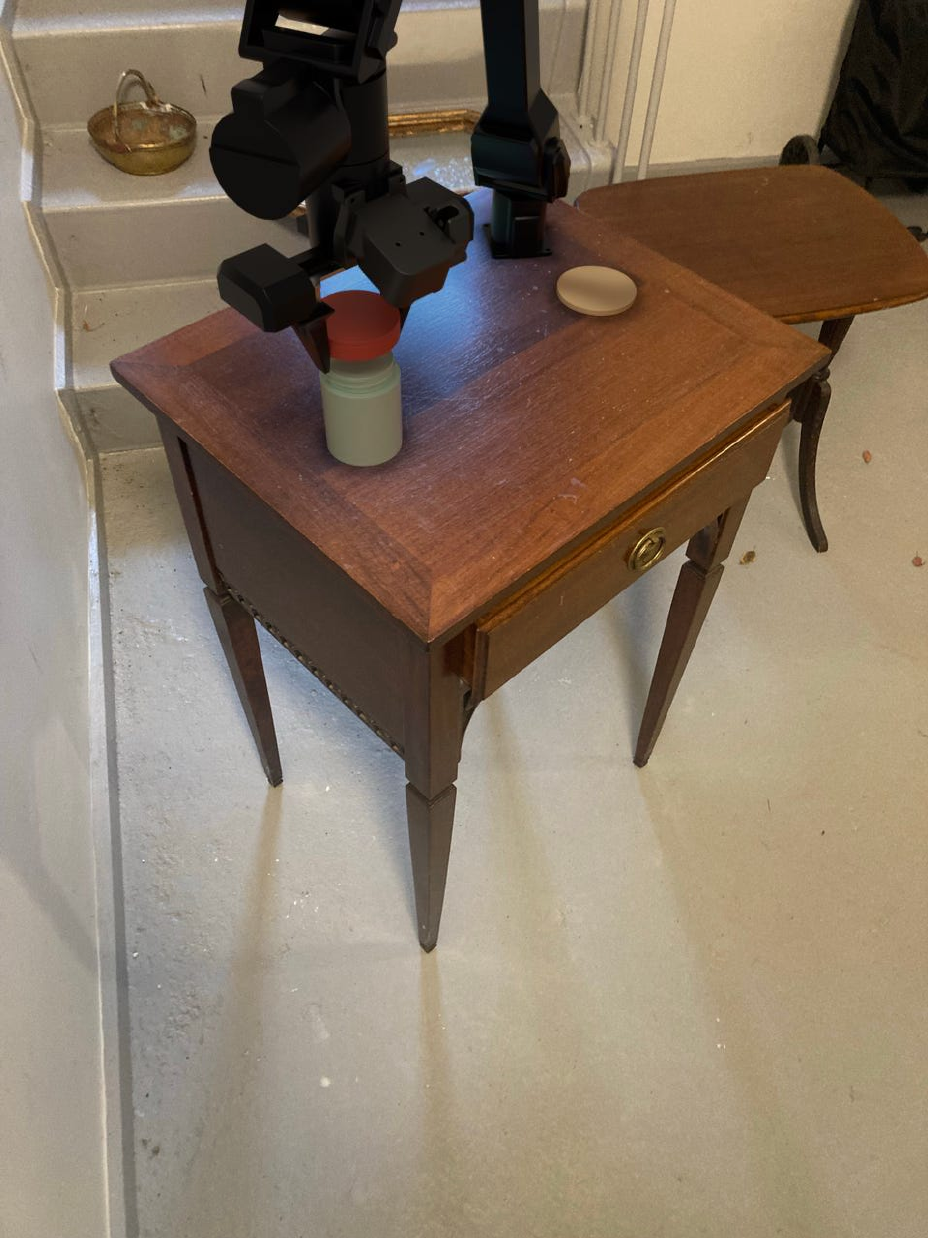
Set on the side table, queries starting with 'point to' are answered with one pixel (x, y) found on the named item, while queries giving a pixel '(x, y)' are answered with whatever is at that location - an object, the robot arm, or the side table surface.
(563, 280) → the coaster
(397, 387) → the jar
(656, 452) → the side table surface
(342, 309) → the jar lid
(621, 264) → the side table surface
